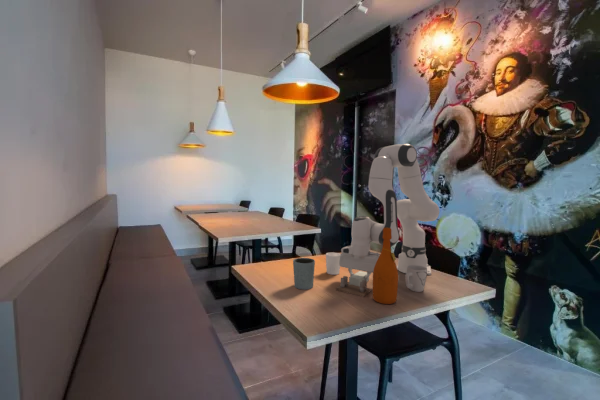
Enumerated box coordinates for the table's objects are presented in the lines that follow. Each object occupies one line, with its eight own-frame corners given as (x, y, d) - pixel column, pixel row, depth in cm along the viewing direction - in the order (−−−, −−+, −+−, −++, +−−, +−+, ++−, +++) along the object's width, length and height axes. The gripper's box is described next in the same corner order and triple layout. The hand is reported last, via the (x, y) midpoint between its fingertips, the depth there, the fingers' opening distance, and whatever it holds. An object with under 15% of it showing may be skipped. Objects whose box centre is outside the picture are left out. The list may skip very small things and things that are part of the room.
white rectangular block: (359, 278, 151) (359, 270, 151) (369, 280, 148) (369, 272, 148) (349, 285, 141) (349, 276, 141) (359, 287, 138) (359, 279, 138)
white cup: (339, 275, 154) (340, 256, 154) (324, 274, 156) (325, 255, 155) (341, 271, 162) (341, 252, 161) (326, 270, 164) (326, 251, 163)
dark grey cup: (304, 291, 131) (304, 264, 130) (287, 286, 138) (288, 260, 137) (319, 286, 139) (319, 260, 138) (302, 280, 145) (303, 256, 145)
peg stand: (343, 285, 140) (343, 274, 140) (370, 291, 133) (371, 280, 133) (336, 290, 134) (336, 279, 133) (364, 296, 127) (364, 285, 126)
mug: (413, 295, 129) (414, 272, 129) (397, 289, 137) (398, 267, 136) (430, 290, 136) (431, 268, 135) (414, 284, 143) (415, 264, 142)
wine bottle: (382, 306, 117) (385, 230, 115) (367, 297, 126) (369, 226, 124) (402, 303, 121) (405, 228, 119) (386, 294, 130) (388, 225, 128)
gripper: (384, 252, 141) (382, 281, 142) (343, 246, 152) (342, 273, 153) (379, 254, 135) (378, 285, 136) (338, 248, 147) (337, 276, 147)
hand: (359, 278), depth 145 cm, fingers open, 6 cm apart
